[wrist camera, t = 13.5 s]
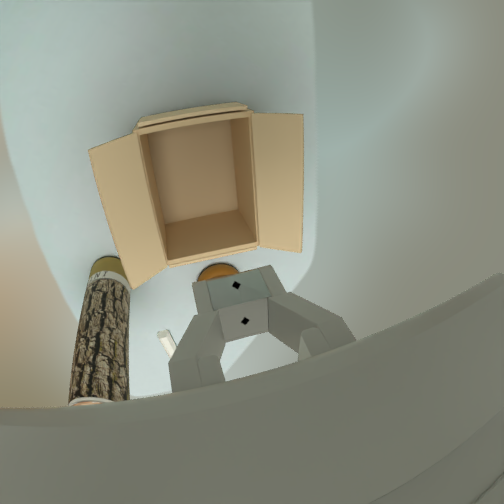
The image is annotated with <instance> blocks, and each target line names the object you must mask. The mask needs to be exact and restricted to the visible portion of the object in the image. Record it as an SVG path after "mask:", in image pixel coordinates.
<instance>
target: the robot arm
mask: <svg viewBox="0 0 504 504" xmlns="http://www.w3.org/2000/svg"><path fill="white" fill-rule="evenodd" d="M192 287H193V292H194V297H195V302H196V307H197V311H198V315H194V317H193V319H192V320H191V322H190V324H189V326H188V328H187V330H186V331H185V333H184V335H183V337H182V339H181V341H180V342H179V344H178V346H177V348H176V350H175V352H174V353H173V355H172V357H171V359H170V361H169V363H168V365H169V372H170V380H171V387H172V393H170V394H164V395H158V396H153V397H146V398H140V399H133V400H125V401H118V402H109V403H100V404H89V405H77V406H62V407H37V408H7V407H6V408H5V407H0V504H504V274H502V273H496V274H494V275H492V276H490V277H489V278H487V279H485V280H484V281H482V282H480V283H478V284H477V285H475V286H473V287H471V288H469V289H468V290H466V291H464V292H462V293H461V294H458V295H456V296H455V297H453V298H451V299H449V300H447V301H445V302H443V303H441V304H439V305H437V306H435V307H433V308H431V309H429V310H427V311H425V312H423V313H420V314H418V315H416V316H414V317H412V318H410V319H407V320H405V321H403V322H401V323H398V324H396V325H394V326H391V327H389V328H387V329H384V330H382V331H380V332H377V333H375V334H372V335H370V336H367V337H365V338H362V339H360V340H356V339H355V337H354V335H353V334H352V332H351V331H350V329H349V328H348V326H347V325H346V323H345V322H344V320H343V318H342V317H340V316H338V315H336V314H334V313H332V312H330V311H328V310H326V309H324V308H322V307H320V306H318V305H316V304H314V303H312V302H310V301H308V300H306V299H304V298H302V297H300V296H298V295H296V294H294V293H292V292H288V293H287V292H286V291H285V289H284V287H283V285H282V283H281V282H280V280H279V278H278V276H277V274H276V273H275V271H274V269H273V267H272V266H271V265H268V266H264V267H260V268H257V269H253V270H248V271H244V272H240V273H236V274H232V275H227V276H222V277H217V278H212V279H207V280H203V281H198V282H193V283H192ZM265 332H269V333H271V334H272V335H273V336H275V337H276V338H277V339H279V340H280V341H281V342H283V343H284V344H286V345H287V346H288V347H290V348H291V349H293V350H294V351H295V352H297V353H298V362H295V363H292V364H289V365H285V366H282V367H278V368H275V369H272V370H268V371H265V372H261V373H258V374H254V375H250V376H246V377H243V378H239V379H234V380H230V381H225V378H224V374H223V371H222V368H221V364H220V359H221V356H222V353H223V350H224V347H225V343H226V342H230V341H233V340H237V339H241V338H244V337H248V336H252V335H256V334H261V333H265Z"/></svg>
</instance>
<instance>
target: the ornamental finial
mask: <svg viewBox="0 0 504 504" xmlns="http://www.w3.org/2000/svg"><path fill="white" fill-rule="evenodd" d="M236 273H239V272H238V271H237V270H236V269H235V268H233V267H231V266H229V265H225V264H217V265H213V266H210V267H208V268H207V269H205V270H204V271H203V272H202V273H201V275H200V276H199V278H198V281H203V280H207V279H212V278H217V277H222V276H227V275H232V274H236Z"/></svg>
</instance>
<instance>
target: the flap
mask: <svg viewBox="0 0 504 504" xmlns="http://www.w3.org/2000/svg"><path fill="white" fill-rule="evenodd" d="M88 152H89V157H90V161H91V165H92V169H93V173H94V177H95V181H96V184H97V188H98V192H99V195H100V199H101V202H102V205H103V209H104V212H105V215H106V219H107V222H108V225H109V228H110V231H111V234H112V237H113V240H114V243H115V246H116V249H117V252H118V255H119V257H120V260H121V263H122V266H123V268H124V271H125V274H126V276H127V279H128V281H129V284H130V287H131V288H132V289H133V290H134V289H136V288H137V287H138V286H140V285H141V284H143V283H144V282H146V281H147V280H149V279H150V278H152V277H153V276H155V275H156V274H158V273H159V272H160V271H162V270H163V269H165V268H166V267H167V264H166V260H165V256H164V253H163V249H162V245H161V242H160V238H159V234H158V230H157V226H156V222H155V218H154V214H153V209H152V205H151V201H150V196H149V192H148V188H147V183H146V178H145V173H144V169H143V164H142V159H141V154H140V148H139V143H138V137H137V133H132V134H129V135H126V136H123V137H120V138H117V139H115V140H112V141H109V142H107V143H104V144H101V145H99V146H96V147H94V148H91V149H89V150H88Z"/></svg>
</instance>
